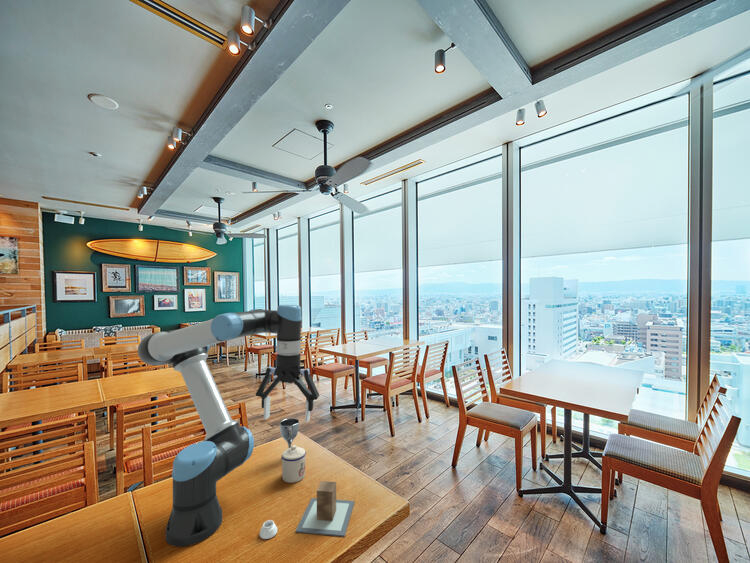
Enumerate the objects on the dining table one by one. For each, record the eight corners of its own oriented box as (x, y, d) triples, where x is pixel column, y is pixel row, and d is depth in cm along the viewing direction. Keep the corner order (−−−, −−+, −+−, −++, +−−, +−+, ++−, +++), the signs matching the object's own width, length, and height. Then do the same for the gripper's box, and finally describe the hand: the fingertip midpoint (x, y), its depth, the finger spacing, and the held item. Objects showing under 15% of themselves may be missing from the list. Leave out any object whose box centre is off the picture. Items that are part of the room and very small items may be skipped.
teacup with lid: (303, 483, 118) (303, 451, 118) (279, 484, 118) (278, 452, 118) (309, 465, 130) (308, 436, 130) (286, 466, 130) (286, 437, 130)
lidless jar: (260, 529, 96) (258, 542, 91) (260, 519, 96) (258, 531, 91) (277, 525, 97) (277, 538, 92) (277, 516, 97) (277, 528, 92)
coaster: (295, 532, 94) (295, 530, 94) (311, 499, 109) (311, 497, 109) (344, 536, 92) (344, 535, 92) (354, 502, 107) (354, 500, 107)
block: (316, 520, 99) (316, 490, 99) (321, 508, 104) (321, 481, 104) (332, 521, 98) (332, 491, 98) (336, 509, 103) (336, 481, 103)
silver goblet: (276, 461, 134) (276, 425, 134) (285, 451, 141) (285, 417, 142) (294, 462, 132) (294, 426, 133) (302, 452, 140) (301, 418, 140)
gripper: (245, 353, 99) (244, 421, 99) (323, 357, 96) (321, 427, 96) (257, 349, 107) (255, 412, 106) (329, 352, 104) (328, 417, 104)
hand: (287, 419), depth 101 cm, fingers open, 13 cm apart
